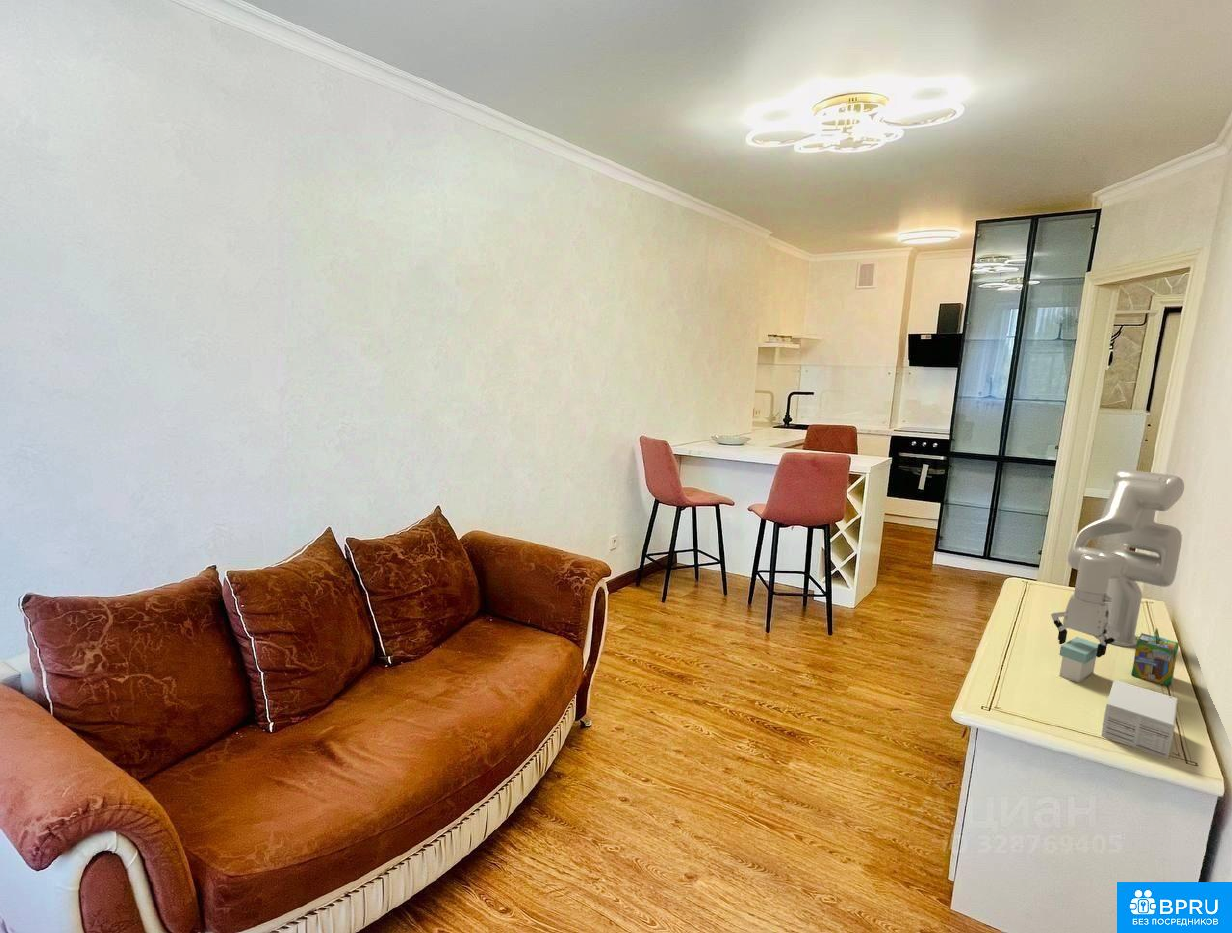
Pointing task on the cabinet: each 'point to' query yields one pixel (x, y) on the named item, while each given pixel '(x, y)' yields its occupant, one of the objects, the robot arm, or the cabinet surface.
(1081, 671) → the box
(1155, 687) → the cabinet surface
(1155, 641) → the chalk box
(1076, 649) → the lid
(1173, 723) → the supplement box
